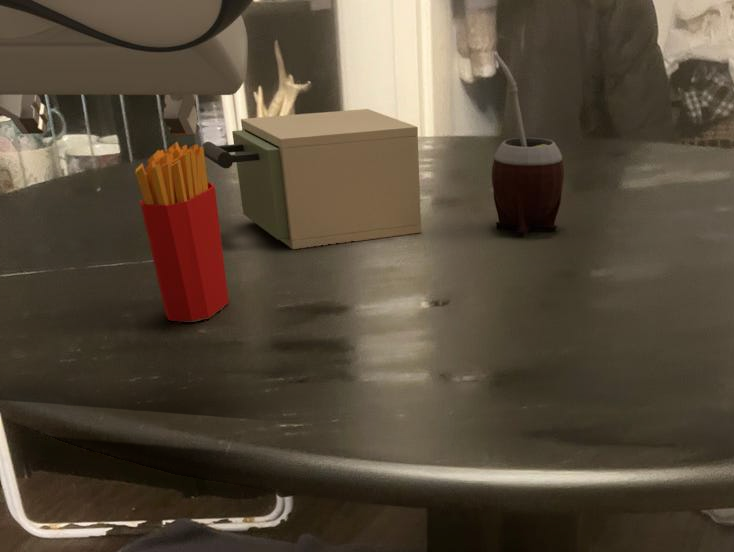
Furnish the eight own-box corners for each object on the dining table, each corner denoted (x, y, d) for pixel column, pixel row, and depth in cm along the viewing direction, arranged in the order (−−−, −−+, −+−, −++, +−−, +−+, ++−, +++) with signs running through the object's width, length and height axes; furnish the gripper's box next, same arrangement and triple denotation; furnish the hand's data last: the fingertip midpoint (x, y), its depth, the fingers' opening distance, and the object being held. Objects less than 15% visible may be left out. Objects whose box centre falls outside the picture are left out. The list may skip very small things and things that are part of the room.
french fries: (195, 293, 82) (169, 136, 75) (240, 296, 82) (217, 137, 75) (150, 326, 76) (116, 157, 69) (198, 329, 75) (168, 158, 68)
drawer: (237, 245, 92) (224, 153, 87) (206, 218, 100) (192, 134, 95) (397, 224, 98) (393, 138, 93) (355, 201, 106) (349, 121, 101)
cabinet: (292, 249, 94) (280, 138, 88) (254, 221, 103) (240, 118, 97) (421, 232, 99) (417, 126, 93) (373, 206, 108) (367, 108, 102)
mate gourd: (553, 239, 96) (560, 64, 87) (476, 235, 98) (475, 61, 89) (567, 221, 102) (575, 55, 93) (493, 217, 104) (494, 53, 95)
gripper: (-219, -9, 47) (-58, 170, 61) (199, -9, 47) (267, 171, 61) (-203, -122, 48) (-48, 79, 62) (207, -124, 48) (272, 79, 61)
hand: (110, 124), depth 61 cm, fingers open, 8 cm apart
